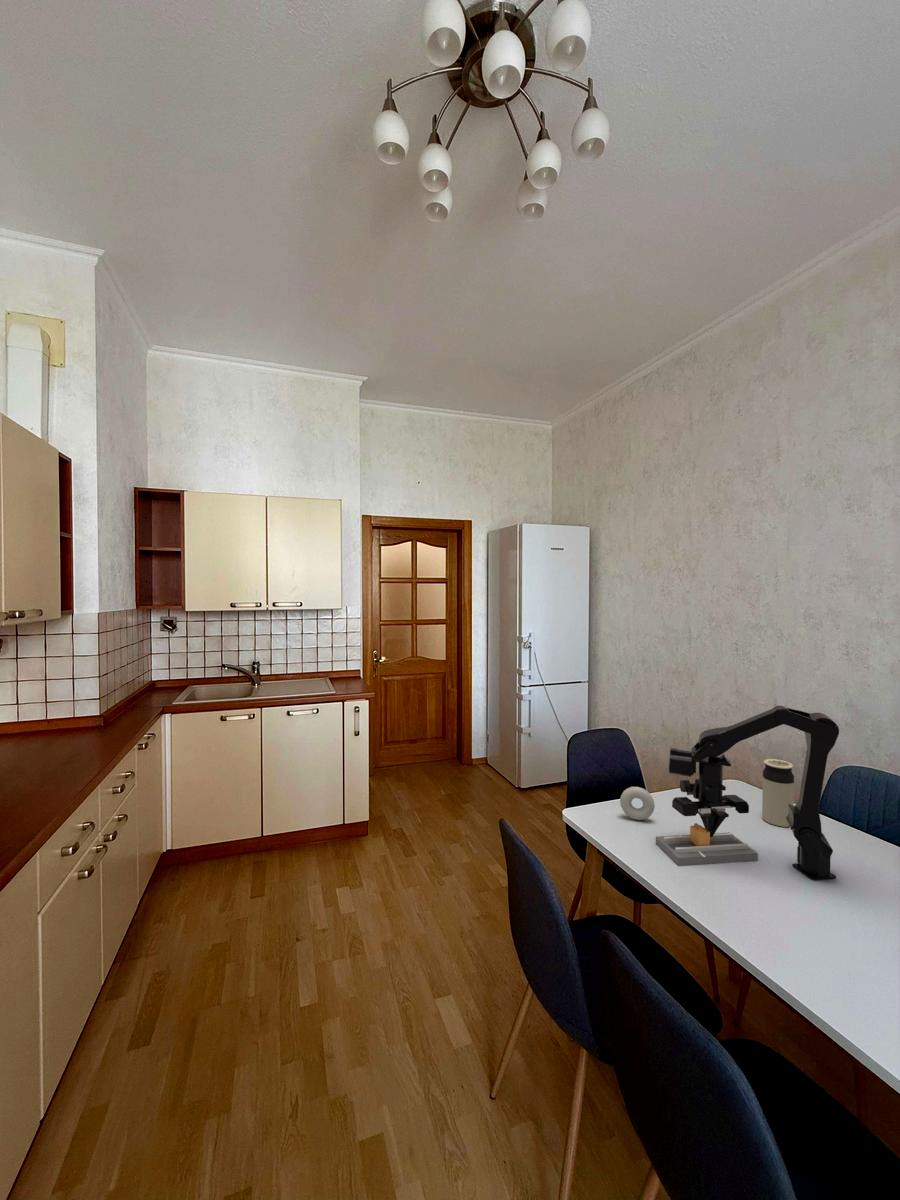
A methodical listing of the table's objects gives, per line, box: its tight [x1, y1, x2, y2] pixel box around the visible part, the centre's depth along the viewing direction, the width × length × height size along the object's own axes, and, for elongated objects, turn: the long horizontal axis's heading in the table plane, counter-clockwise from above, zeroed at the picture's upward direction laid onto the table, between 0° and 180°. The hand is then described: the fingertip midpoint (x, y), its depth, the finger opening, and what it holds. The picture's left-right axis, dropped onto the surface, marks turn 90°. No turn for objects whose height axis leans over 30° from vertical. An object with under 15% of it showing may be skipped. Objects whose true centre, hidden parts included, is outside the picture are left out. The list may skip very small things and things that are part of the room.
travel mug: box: [761, 758, 795, 828], centre depth 150 cm, size 8×8×18 cm
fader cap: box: [689, 822, 710, 846], centre depth 132 cm, size 4×3×5 cm
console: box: [655, 832, 759, 867], centre depth 132 cm, size 12×22×3 cm, turn 96°
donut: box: [619, 786, 656, 821], centre depth 151 cm, size 10×4×10 cm, turn 69°
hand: (709, 836), depth 133 cm, fingers closed
